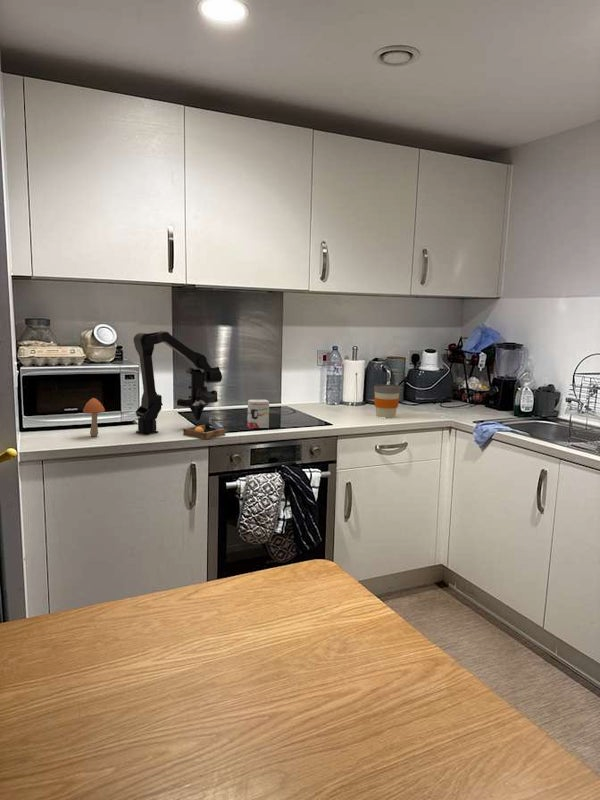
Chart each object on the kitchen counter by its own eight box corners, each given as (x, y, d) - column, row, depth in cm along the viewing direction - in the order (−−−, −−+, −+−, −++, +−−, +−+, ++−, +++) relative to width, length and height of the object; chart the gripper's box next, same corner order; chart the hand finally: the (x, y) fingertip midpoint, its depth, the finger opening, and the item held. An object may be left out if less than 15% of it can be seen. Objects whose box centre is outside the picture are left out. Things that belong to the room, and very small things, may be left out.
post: (214, 428, 239) (214, 422, 239) (207, 427, 242) (207, 421, 241) (221, 427, 243) (221, 421, 242) (214, 425, 245) (214, 420, 245)
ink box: (249, 429, 240) (249, 401, 238) (247, 426, 245) (247, 399, 243) (269, 428, 243) (269, 401, 241) (266, 426, 247) (267, 399, 245)
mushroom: (98, 433, 226) (97, 395, 223) (109, 436, 221) (108, 397, 218) (79, 436, 219) (78, 397, 217) (90, 439, 214) (89, 400, 212)
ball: (202, 437, 225) (196, 433, 222) (196, 436, 227) (190, 432, 225) (206, 430, 226) (200, 425, 224) (201, 429, 228) (195, 424, 226)
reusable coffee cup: (367, 415, 280) (369, 384, 278) (389, 413, 286) (390, 384, 283) (381, 419, 269) (383, 388, 267) (403, 418, 274) (405, 387, 272)
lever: (217, 433, 229) (217, 425, 229) (207, 423, 249) (207, 416, 248) (224, 432, 230) (224, 425, 230) (214, 422, 249) (214, 415, 249)
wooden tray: (205, 439, 219) (205, 433, 219) (183, 435, 226) (183, 428, 226) (225, 435, 228) (225, 428, 228) (203, 430, 235) (203, 424, 234)
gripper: (195, 387, 227) (195, 426, 230) (227, 383, 242) (226, 419, 245) (175, 385, 234) (176, 422, 236) (208, 381, 249) (208, 416, 251)
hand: (197, 420), depth 242 cm, fingers closed
